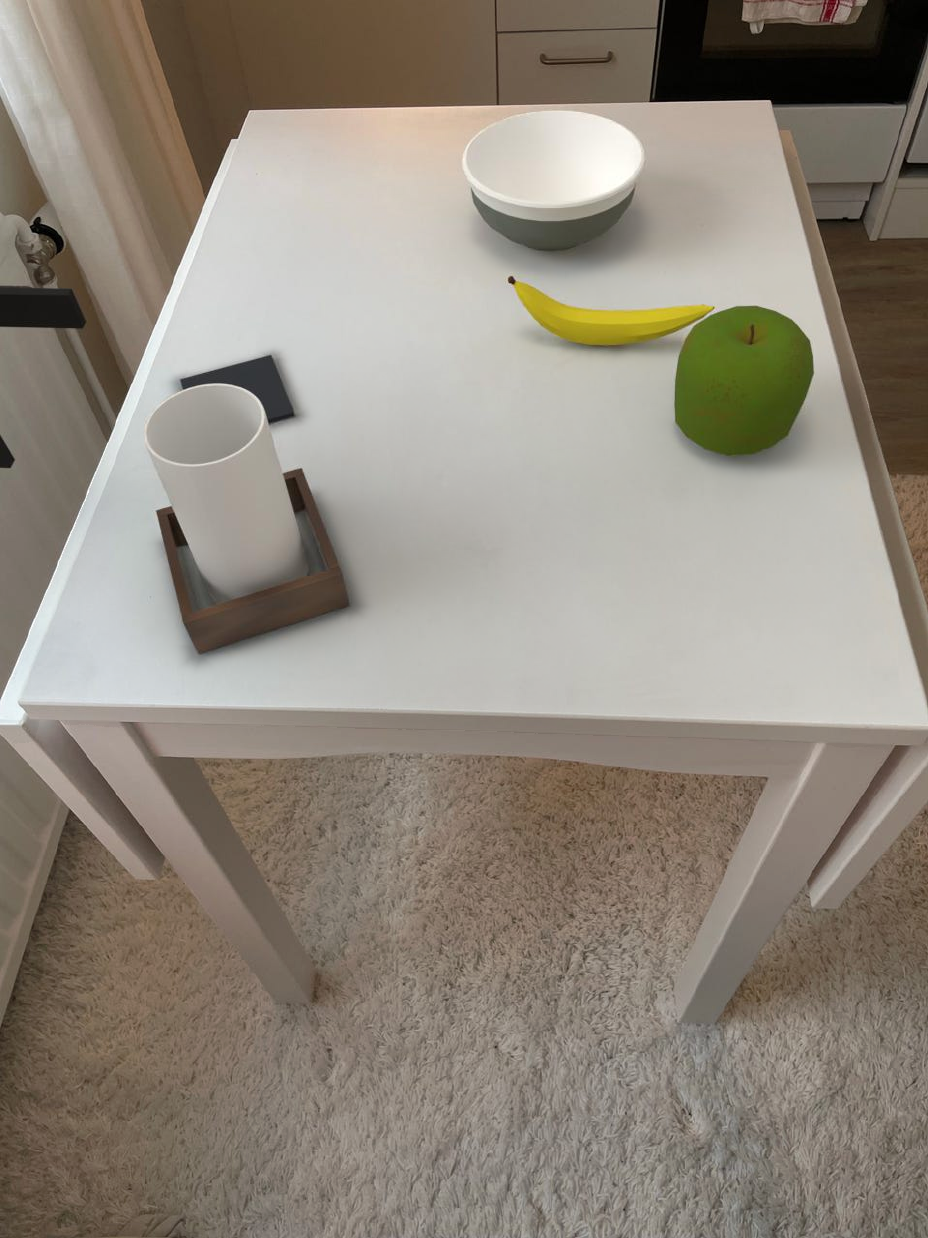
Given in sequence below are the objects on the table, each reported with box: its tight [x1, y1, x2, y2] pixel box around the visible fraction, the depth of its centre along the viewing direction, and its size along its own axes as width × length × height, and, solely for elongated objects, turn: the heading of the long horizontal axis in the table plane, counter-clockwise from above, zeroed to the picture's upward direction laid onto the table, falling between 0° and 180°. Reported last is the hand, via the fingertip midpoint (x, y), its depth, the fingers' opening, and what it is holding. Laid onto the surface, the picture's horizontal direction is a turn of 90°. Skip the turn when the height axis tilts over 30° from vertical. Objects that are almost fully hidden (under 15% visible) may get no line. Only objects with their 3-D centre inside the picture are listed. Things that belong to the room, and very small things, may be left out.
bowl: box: [461, 109, 646, 252], centre depth 100 cm, size 19×19×8 cm
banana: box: [507, 275, 715, 346], centre depth 89 cm, size 3×19×6 cm, turn 78°
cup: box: [143, 384, 309, 604], centre depth 70 cm, size 8×8×16 cm
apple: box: [673, 305, 815, 457], centre depth 80 cm, size 11×11×11 cm
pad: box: [179, 354, 296, 425], centre depth 89 cm, size 9×9×1 cm
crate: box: [155, 467, 351, 655], centre depth 75 cm, size 12×12×4 cm
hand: (43, 373), depth 62 cm, fingers open, 13 cm apart
